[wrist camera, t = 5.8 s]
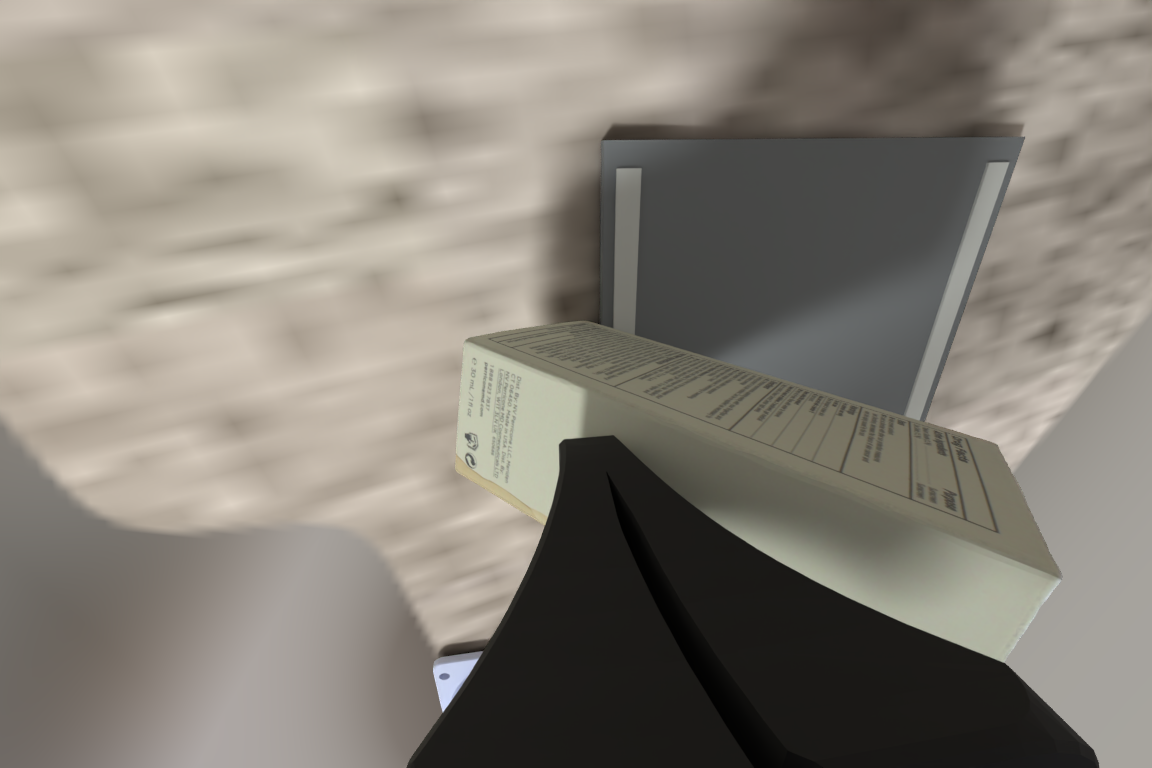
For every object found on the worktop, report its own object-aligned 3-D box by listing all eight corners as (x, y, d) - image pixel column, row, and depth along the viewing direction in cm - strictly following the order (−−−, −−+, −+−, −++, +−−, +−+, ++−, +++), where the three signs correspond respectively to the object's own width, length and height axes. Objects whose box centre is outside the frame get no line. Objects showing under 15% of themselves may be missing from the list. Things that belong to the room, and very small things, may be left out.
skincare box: (447, 471, 14) (929, 793, 7) (459, 328, 12) (1080, 583, 6) (572, 418, 19) (924, 585, 12) (592, 312, 17) (1006, 442, 11)
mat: (888, 495, 23) (897, 502, 23) (598, 528, 21) (600, 537, 21) (1011, 137, 16) (1028, 136, 16) (600, 140, 15) (604, 139, 14)
